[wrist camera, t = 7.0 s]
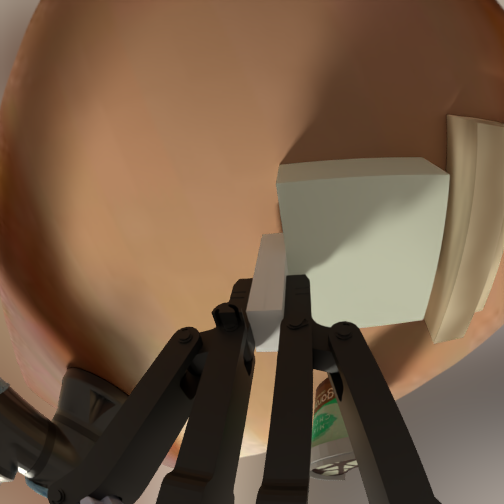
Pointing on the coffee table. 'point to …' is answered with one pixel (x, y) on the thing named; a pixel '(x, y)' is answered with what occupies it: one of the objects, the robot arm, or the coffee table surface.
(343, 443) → the food container
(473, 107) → the coffee table surface
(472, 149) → the beige ridged bar
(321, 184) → the block
